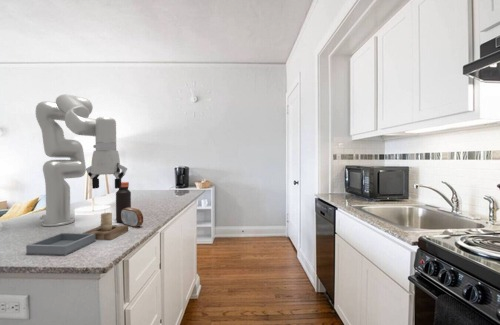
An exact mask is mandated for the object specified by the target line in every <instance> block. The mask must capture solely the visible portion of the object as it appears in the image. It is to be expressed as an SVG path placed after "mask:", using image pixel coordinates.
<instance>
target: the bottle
mask: <svg viewBox="0 0 500 325" xmlns="http://www.w3.org/2000/svg"><path fill="white" fill-rule="evenodd" d="M129 187H130V184H129V182H128V181H121V188H118V190H117V191H116V192H115V222H116V223H117V224H124V223H123V222H122V220H121V211H122V209H124V208H127V207H130V208H132V192H131V190H130V189H129Z"/></svg>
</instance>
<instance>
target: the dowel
mask: <svg viewBox="0 0 500 325" xmlns="http://www.w3.org/2000/svg"><path fill="white" fill-rule="evenodd" d="M112 214H113V213H112V212H103V213H100V226H101V231H110V230H112V225H113V215H112Z"/></svg>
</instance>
